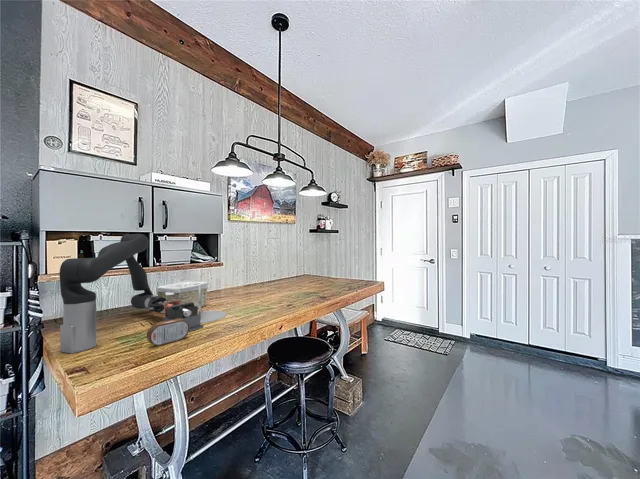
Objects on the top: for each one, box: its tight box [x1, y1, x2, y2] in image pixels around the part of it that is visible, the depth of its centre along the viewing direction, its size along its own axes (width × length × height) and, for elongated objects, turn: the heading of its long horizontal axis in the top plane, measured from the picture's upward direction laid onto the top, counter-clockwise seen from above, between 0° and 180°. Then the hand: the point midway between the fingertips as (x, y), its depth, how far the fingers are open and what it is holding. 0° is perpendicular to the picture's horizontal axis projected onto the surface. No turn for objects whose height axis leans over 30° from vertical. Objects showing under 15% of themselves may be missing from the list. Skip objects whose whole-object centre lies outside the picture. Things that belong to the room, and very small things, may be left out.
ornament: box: [198, 285, 227, 324], centre depth 145 cm, size 22×13×17 cm, turn 22°
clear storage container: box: [156, 280, 209, 314], centre depth 160 cm, size 24×16×15 cm
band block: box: [163, 302, 204, 332], centre depth 123 cm, size 10×14×11 cm
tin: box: [146, 318, 190, 347], centre depth 108 cm, size 15×3×8 cm, turn 141°
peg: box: [163, 300, 192, 319], centre depth 124 cm, size 15×7×7 cm, turn 52°
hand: (171, 308), depth 129 cm, fingers closed
